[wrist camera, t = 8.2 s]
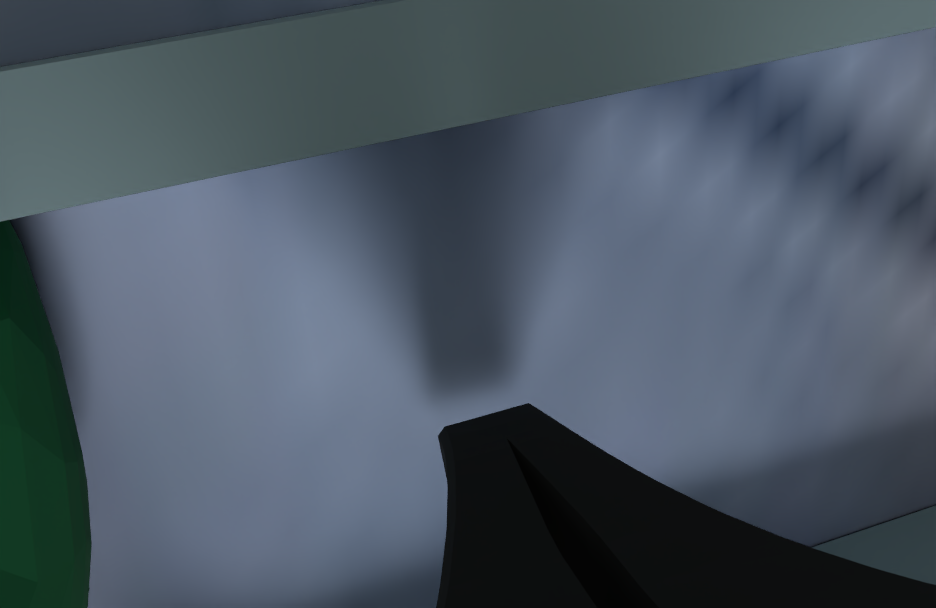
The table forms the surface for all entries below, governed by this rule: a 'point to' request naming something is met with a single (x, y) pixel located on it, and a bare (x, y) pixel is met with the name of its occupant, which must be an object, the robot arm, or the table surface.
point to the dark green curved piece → (37, 453)
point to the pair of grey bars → (397, 103)
